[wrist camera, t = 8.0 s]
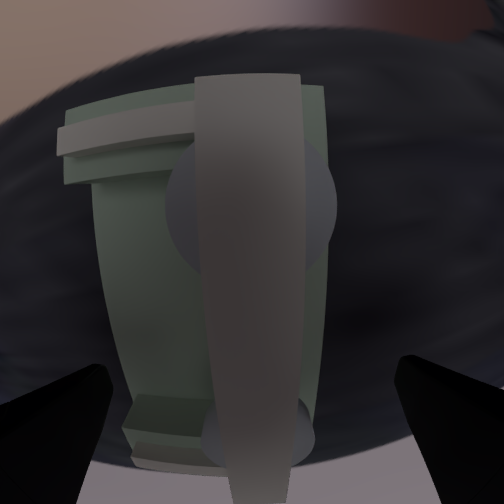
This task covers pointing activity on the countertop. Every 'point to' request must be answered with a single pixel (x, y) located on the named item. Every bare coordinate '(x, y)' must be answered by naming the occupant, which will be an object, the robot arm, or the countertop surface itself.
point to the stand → (170, 276)
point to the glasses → (238, 263)
